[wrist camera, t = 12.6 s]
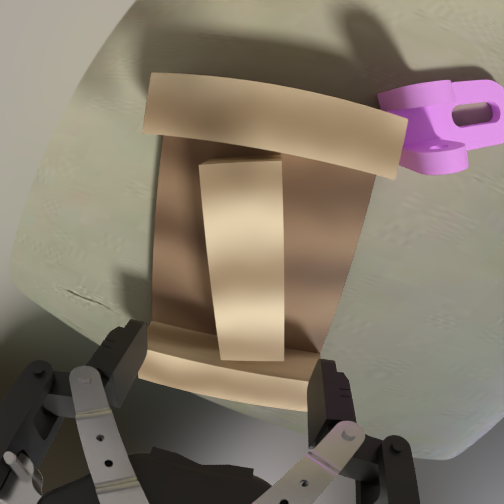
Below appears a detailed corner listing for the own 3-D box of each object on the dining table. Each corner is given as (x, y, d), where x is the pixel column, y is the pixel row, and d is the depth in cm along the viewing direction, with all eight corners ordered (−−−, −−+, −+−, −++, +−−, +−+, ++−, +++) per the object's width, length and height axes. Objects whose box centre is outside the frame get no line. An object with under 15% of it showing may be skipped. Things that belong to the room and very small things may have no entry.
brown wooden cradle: (176, 81, 21) (151, 72, 17) (383, 119, 21) (408, 119, 16) (155, 345, 31) (138, 377, 26) (307, 375, 31) (310, 411, 26)
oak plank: (212, 158, 22) (198, 164, 19) (281, 155, 22) (281, 160, 18) (228, 331, 28) (220, 360, 24) (284, 331, 28) (284, 361, 24)
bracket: (393, 163, 22) (431, 178, 16) (375, 94, 21) (410, 84, 14) (510, 138, 20) (559, 149, 13) (497, 79, 18) (547, 76, 12)
